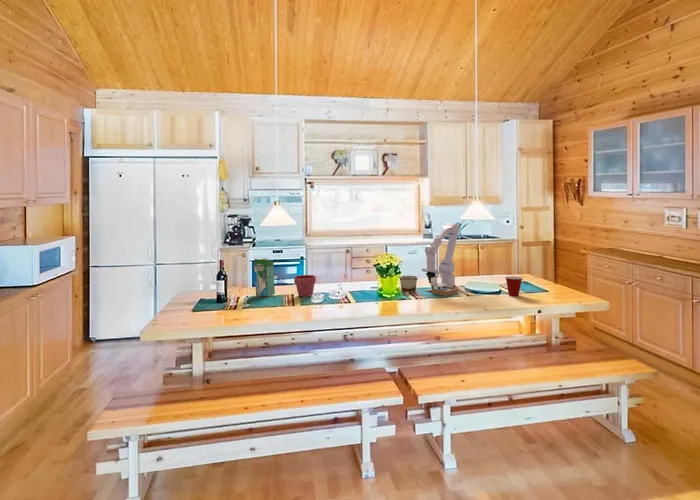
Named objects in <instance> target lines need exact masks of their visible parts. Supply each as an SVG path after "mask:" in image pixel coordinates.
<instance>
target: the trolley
mask: <svg viewBox="0 0 700 500" xmlns="http://www.w3.org/2000/svg"><path fill="white" fill-rule="evenodd" d="M429 284H430V287H431V288H430V289H432V288H438V289H441V288H443V287H444V288H447V285H446V284H441V283H439V282H438V275H435V276H432V277H430V283H429Z"/></svg>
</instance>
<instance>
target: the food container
mask: <svg viewBox="0 0 700 500" xmlns="http://www.w3.org/2000/svg"><path fill="white" fill-rule="evenodd" d="M399 279H400V280H399V281H400V289H401V293H416V292H417V291H416V290H417V282H418V280H419V279H418V276H415V275H402V276H400V277H399Z"/></svg>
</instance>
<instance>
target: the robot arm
mask: <svg viewBox="0 0 700 500" xmlns="http://www.w3.org/2000/svg"><path fill="white" fill-rule="evenodd" d="M441 227H442V228H441V230H440V232H439V234H438V236H436V237H434V238H433V239H432V240H431V242H430V243H429V245H428V244H427V245H426V247H425V249H424V253H425V256H426V268H425V267H424V268H421V272H425V274H426V276H427V279H428V282H429V284H430V277H432V276H437V274H438V275H441V277H440V281H441V284H446V285H447V286H449V287H456V277H455V274H454V273H455V263H454V262H453V258H454V253H455V248H456V244H457V240H458V239H457V238H458V237H459V233H460V227H459V223H447V222H444V223H443V225H442V226H441ZM446 236H448V239H447V240H448V241H447V245H446V249H445V250H446V251H445V256H444V259H442V260H441V261H440V263H439V264H440V265H438V269H436V254H437V253H438V250H439V247H440V246H441V244H442V242H443V241H442V240H443V239H444V238H445V237H446Z"/></svg>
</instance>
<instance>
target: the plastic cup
mask: <svg viewBox="0 0 700 500" xmlns="http://www.w3.org/2000/svg"><path fill="white" fill-rule="evenodd" d="M504 278H505V281H506V287H507V294H508V296H509V297H519V294H520V291H521V286H522V281H523V278H524V277H522V276H513V275H512V276H504Z"/></svg>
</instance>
